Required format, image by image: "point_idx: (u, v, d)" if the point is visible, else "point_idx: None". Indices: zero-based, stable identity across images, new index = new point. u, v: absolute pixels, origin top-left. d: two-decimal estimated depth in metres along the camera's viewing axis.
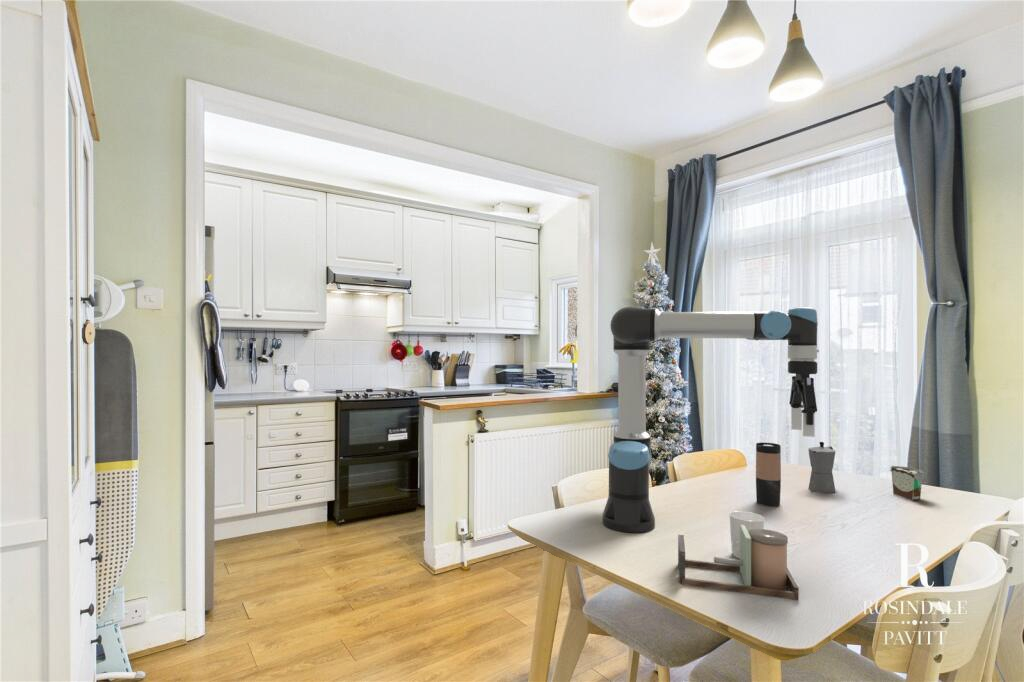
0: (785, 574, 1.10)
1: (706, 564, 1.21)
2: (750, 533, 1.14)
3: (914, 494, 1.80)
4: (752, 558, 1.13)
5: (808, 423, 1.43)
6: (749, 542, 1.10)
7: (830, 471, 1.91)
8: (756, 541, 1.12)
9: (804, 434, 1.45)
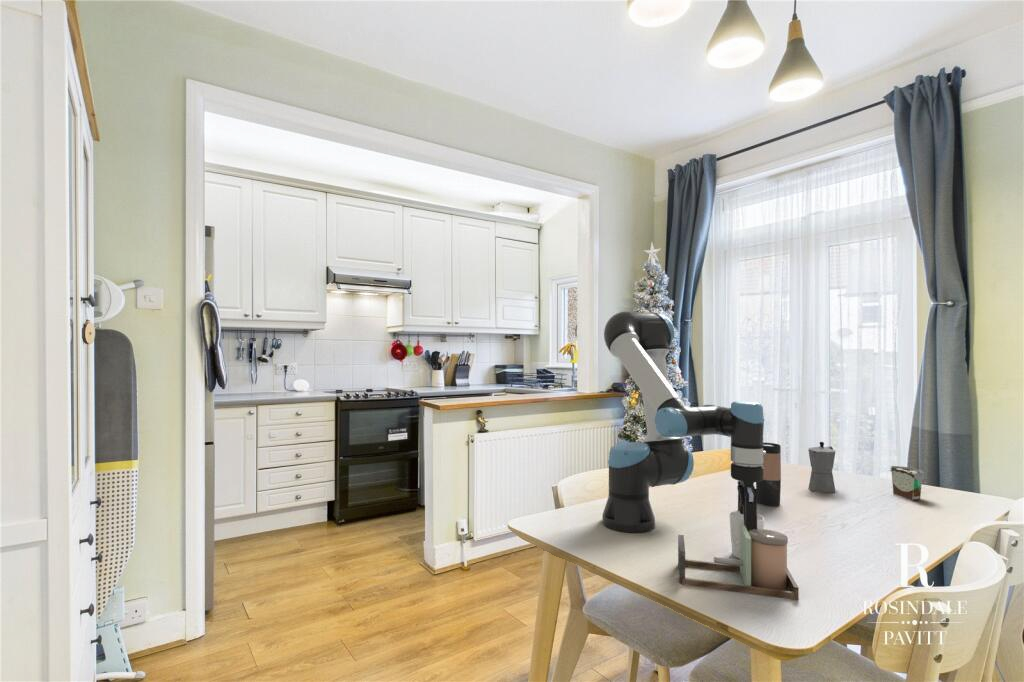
0: (785, 574, 1.10)
1: (706, 564, 1.21)
2: (750, 533, 1.14)
3: (914, 494, 1.80)
4: (752, 558, 1.13)
5: None
6: (749, 542, 1.10)
7: (830, 471, 1.91)
8: (756, 541, 1.12)
9: None
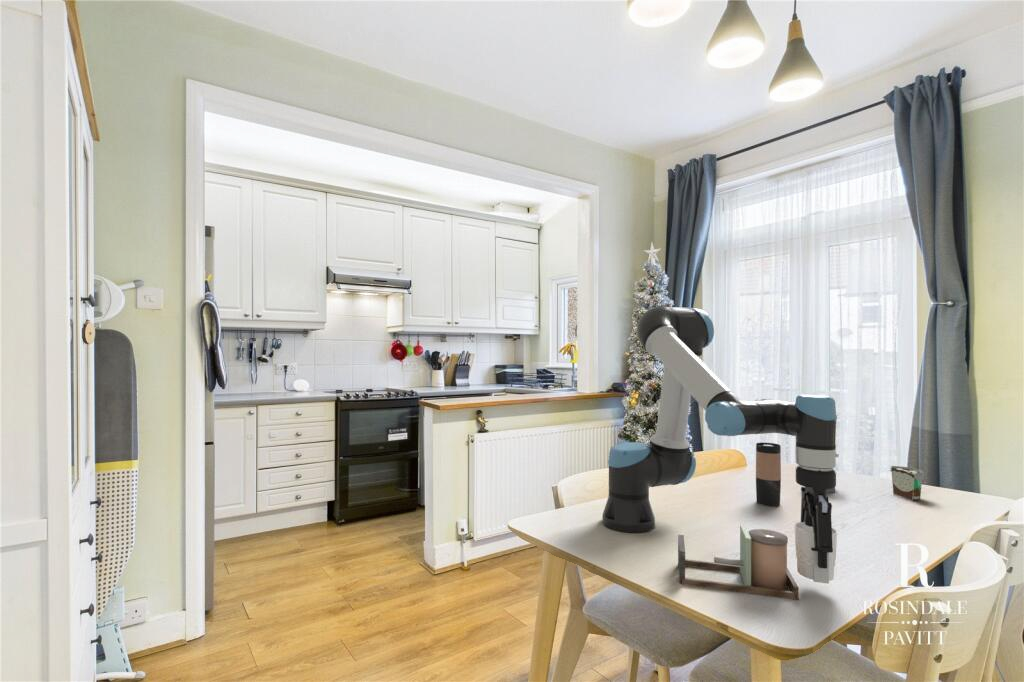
0: (785, 574, 1.10)
1: (706, 564, 1.21)
2: (750, 533, 1.14)
3: (914, 494, 1.80)
4: (752, 558, 1.13)
5: (820, 566, 1.06)
6: (749, 542, 1.10)
7: None
8: (756, 541, 1.12)
9: (815, 579, 1.07)
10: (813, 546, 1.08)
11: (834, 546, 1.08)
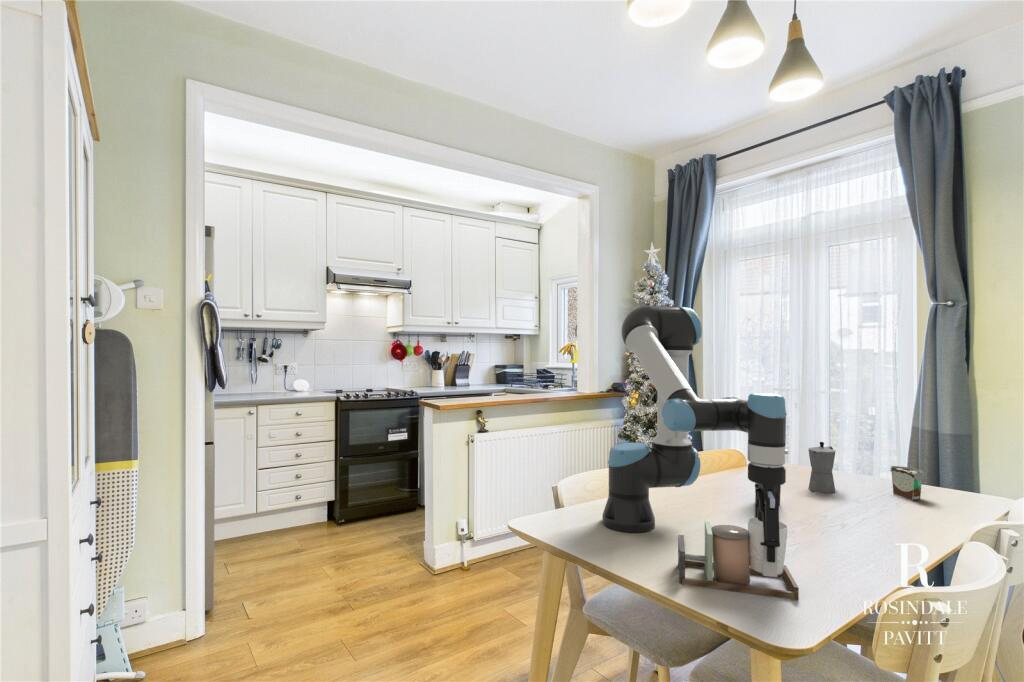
0: (747, 568, 1.12)
1: None
2: (712, 529, 1.17)
3: (914, 494, 1.80)
4: (715, 553, 1.15)
5: (769, 560, 1.08)
6: (711, 538, 1.13)
7: (830, 471, 1.91)
8: (717, 537, 1.14)
9: (764, 573, 1.10)
10: (763, 540, 1.10)
11: (784, 541, 1.10)
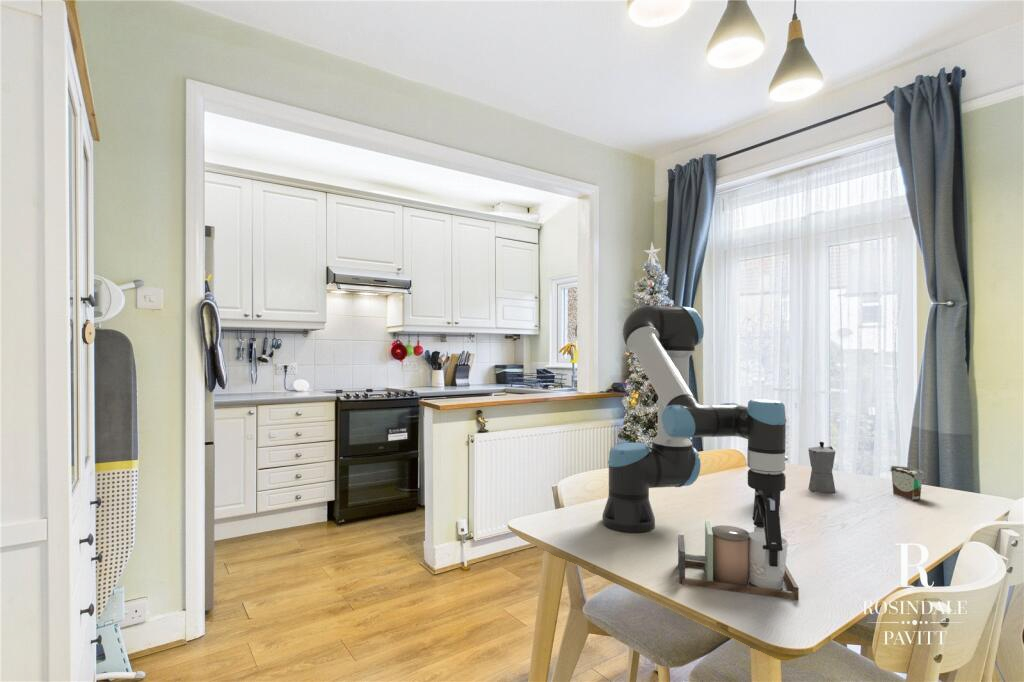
0: (745, 569, 1.12)
1: None
2: (713, 529, 1.17)
3: (914, 494, 1.80)
4: (714, 553, 1.15)
5: (771, 564, 1.06)
6: (711, 538, 1.13)
7: (830, 471, 1.91)
8: (717, 537, 1.14)
9: (766, 577, 1.07)
10: (763, 555, 1.10)
11: (784, 556, 1.10)
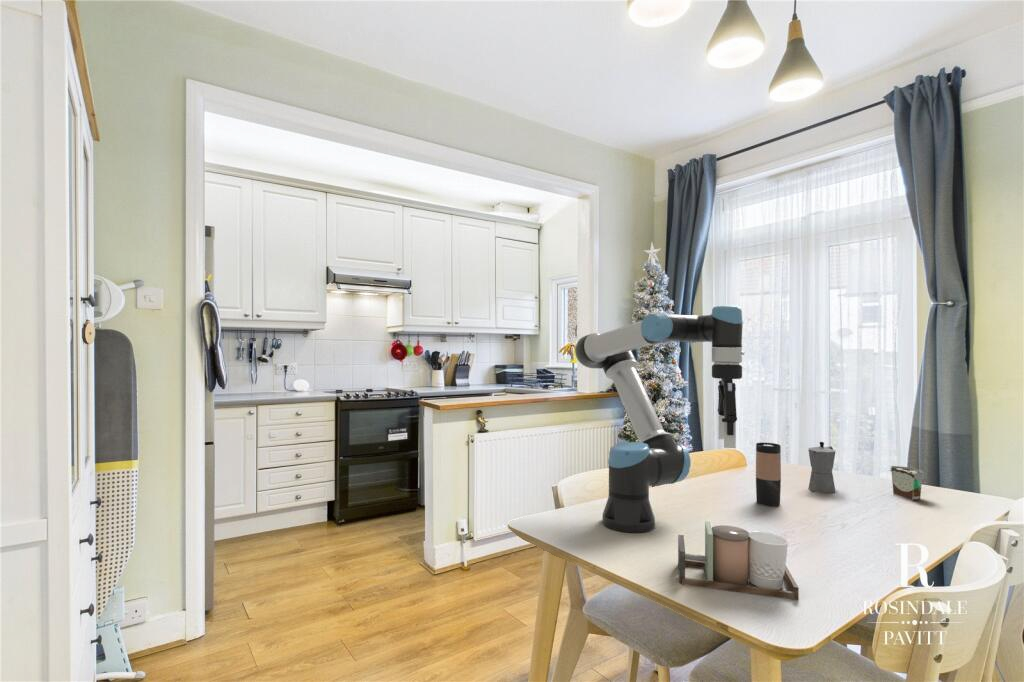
0: (745, 569, 1.12)
1: None
2: (713, 529, 1.17)
3: (914, 494, 1.80)
4: (714, 553, 1.15)
5: (728, 433, 1.30)
6: (711, 538, 1.13)
7: (830, 471, 1.91)
8: (717, 537, 1.14)
9: (725, 445, 1.31)
10: (763, 555, 1.10)
11: (784, 556, 1.10)
